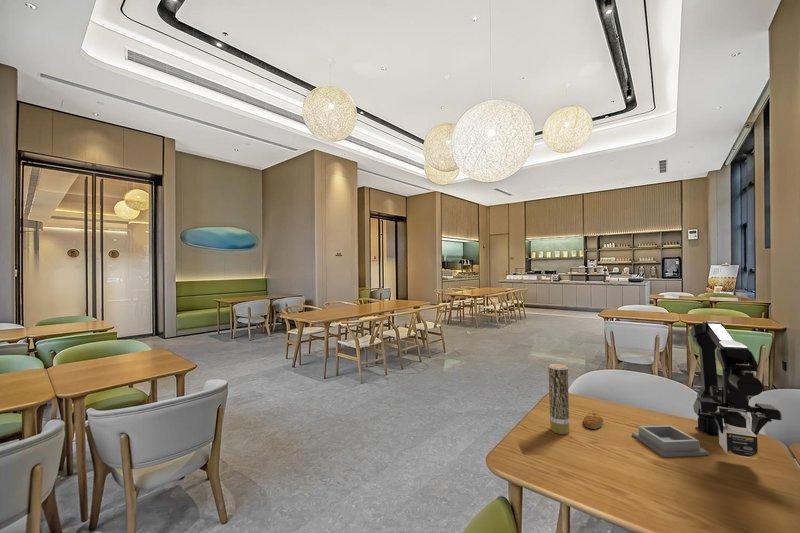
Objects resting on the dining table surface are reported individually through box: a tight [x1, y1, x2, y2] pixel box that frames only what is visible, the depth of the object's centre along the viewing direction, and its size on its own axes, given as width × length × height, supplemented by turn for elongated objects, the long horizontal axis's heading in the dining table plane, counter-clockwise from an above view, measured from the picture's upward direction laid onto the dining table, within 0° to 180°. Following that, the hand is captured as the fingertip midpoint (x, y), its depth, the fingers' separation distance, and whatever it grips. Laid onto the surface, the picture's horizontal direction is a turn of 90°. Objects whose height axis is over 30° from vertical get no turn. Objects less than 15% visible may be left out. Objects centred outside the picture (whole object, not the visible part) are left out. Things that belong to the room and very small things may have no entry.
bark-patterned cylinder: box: [548, 363, 570, 435], centre depth 134 cm, size 7×7×25 cm
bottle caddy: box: [631, 424, 709, 458], centre depth 122 cm, size 15×15×4 cm
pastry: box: [583, 412, 604, 430], centre depth 138 cm, size 9×7×4 cm
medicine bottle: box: [718, 410, 759, 460], centre depth 109 cm, size 7×7×12 cm
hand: (737, 435), depth 109 cm, fingers closed on medicine bottle, 7 cm apart
